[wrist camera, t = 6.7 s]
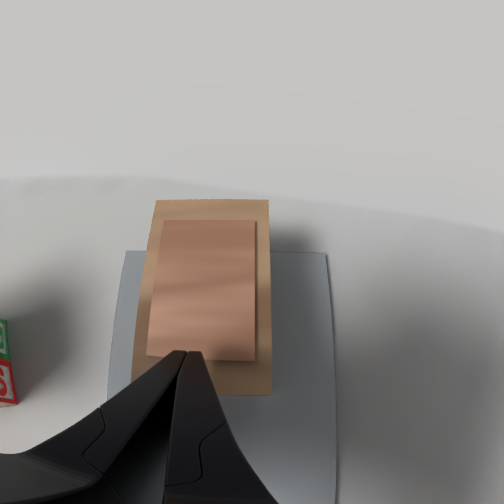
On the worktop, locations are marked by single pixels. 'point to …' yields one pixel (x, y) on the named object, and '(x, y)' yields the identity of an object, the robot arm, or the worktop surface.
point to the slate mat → (283, 379)
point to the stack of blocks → (5, 370)
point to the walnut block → (209, 292)
